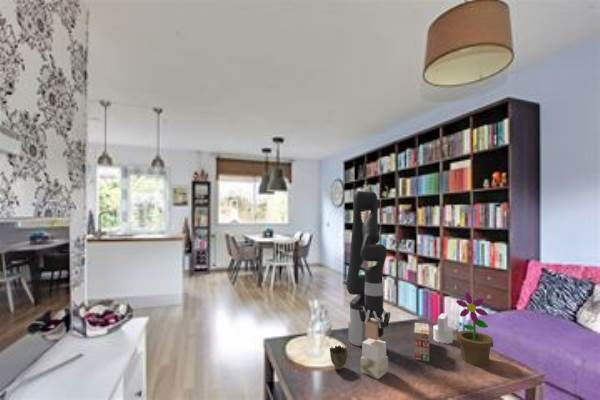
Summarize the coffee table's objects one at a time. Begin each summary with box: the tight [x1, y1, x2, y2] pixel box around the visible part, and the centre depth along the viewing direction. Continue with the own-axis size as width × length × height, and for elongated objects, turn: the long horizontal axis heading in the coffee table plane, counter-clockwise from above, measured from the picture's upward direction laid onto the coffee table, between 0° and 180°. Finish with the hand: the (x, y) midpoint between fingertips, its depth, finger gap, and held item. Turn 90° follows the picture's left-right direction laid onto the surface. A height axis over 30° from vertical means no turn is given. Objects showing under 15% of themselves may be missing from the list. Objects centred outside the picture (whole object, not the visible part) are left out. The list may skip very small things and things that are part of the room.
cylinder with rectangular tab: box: [432, 313, 454, 345], centre depth 161 cm, size 9×9×12 cm
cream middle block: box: [361, 338, 387, 363], centre depth 129 cm, size 7×7×6 cm
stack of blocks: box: [413, 322, 431, 363], centre depth 149 cm, size 21×6×12 cm, turn 159°
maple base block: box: [359, 355, 389, 380], centre depth 129 cm, size 8×8×6 cm
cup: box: [329, 345, 348, 371], centre depth 132 cm, size 8×7×8 cm
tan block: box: [365, 318, 384, 341], centre depth 130 cm, size 5×5×6 cm
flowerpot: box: [455, 292, 494, 367], centre depth 139 cm, size 14×14×30 cm
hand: (374, 334), depth 129 cm, fingers closed on tan block, 5 cm apart
